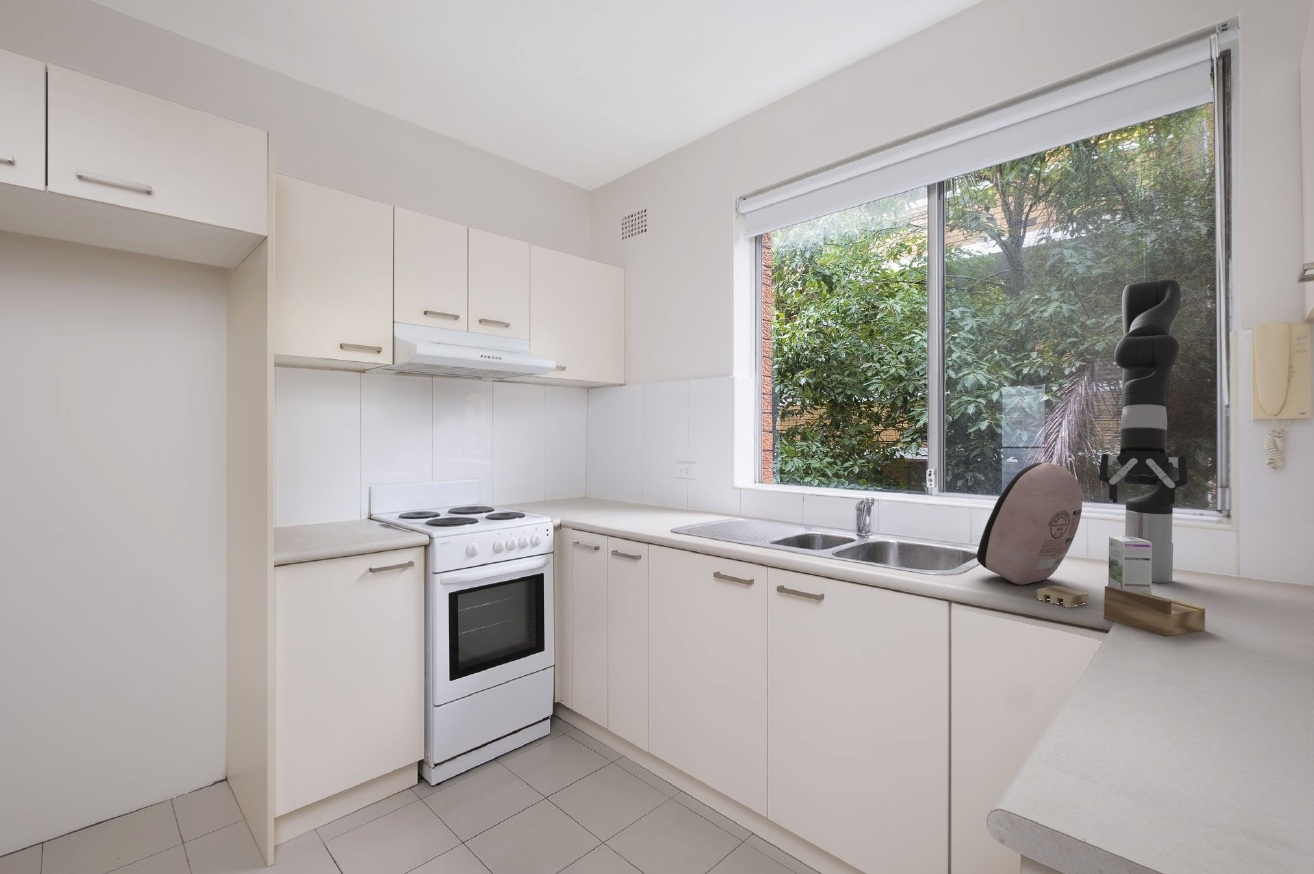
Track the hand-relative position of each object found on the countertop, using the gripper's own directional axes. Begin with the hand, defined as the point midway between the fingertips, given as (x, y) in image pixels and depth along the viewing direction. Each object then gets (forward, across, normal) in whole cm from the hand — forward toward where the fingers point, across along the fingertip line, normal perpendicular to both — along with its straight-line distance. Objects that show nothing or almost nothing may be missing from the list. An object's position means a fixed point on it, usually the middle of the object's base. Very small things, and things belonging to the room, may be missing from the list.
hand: (1140, 504), depth 123 cm
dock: (+23, -3, +6) cm, 24 cm away
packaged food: (+21, +22, -14) cm, 33 cm away
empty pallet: (+23, +13, +1) cm, 26 cm away
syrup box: (+22, +2, -7) cm, 23 cm away
